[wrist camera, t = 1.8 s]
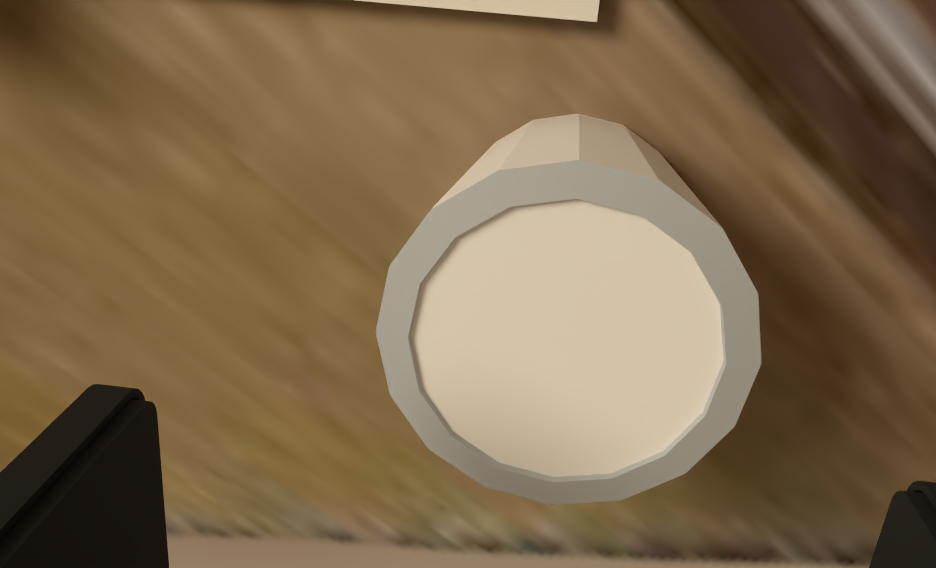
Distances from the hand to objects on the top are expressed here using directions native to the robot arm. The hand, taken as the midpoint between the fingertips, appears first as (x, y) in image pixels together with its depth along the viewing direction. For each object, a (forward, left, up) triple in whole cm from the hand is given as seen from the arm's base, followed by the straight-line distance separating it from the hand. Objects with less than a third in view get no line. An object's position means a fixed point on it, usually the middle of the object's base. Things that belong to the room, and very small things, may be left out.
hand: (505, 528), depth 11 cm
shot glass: (-1, 0, -12) cm, 12 cm away
